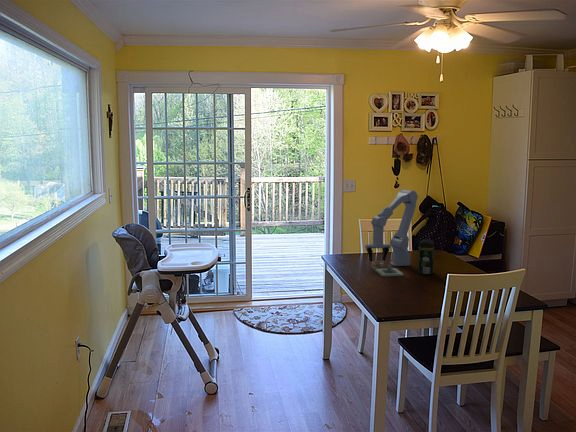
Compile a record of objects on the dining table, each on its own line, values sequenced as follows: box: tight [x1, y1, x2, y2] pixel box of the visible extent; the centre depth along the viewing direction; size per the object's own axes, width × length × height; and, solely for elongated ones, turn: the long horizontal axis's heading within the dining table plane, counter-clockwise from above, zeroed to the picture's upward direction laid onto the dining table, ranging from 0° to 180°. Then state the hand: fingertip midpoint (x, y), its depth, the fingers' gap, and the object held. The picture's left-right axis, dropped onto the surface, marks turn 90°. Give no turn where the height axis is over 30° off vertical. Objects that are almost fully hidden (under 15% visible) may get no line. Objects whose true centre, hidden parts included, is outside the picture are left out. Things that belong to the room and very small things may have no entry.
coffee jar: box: [417, 238, 435, 276], centre depth 281 cm, size 10×8×19 cm
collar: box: [370, 261, 384, 270], centre depth 293 cm, size 5×5×3 cm
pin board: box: [374, 263, 405, 277], centre depth 281 cm, size 12×12×5 cm
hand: (377, 260), depth 292 cm, fingers open, 7 cm apart
